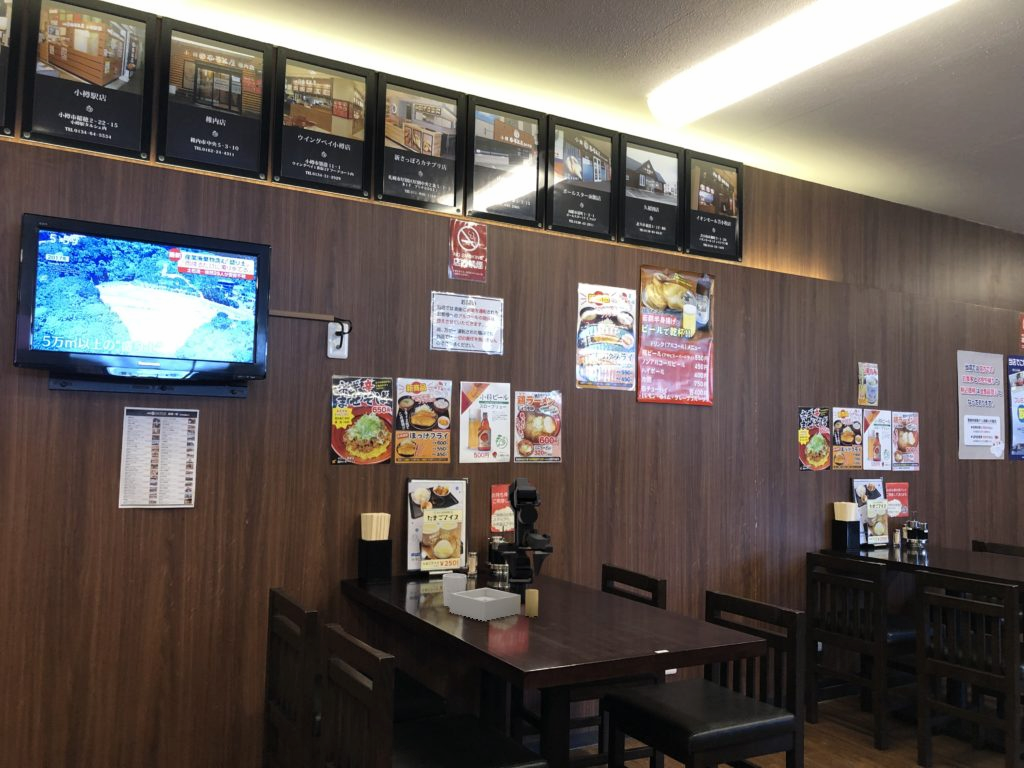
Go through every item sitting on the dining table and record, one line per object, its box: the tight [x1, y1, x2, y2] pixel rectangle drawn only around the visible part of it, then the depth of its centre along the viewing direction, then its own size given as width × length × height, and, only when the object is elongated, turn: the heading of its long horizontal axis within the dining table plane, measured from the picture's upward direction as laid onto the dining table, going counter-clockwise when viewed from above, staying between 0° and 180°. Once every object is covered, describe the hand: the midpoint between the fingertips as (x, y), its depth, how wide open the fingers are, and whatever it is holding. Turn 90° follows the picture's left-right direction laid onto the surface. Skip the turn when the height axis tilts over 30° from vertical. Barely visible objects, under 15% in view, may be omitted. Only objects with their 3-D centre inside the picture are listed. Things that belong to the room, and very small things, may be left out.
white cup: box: [442, 572, 467, 608], centre depth 268 cm, size 8×8×10 cm
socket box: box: [449, 587, 521, 622], centre depth 258 cm, size 16×16×6 cm
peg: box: [524, 588, 539, 618], centre depth 256 cm, size 4×4×8 cm
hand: (525, 575), depth 255 cm, fingers open, 9 cm apart
